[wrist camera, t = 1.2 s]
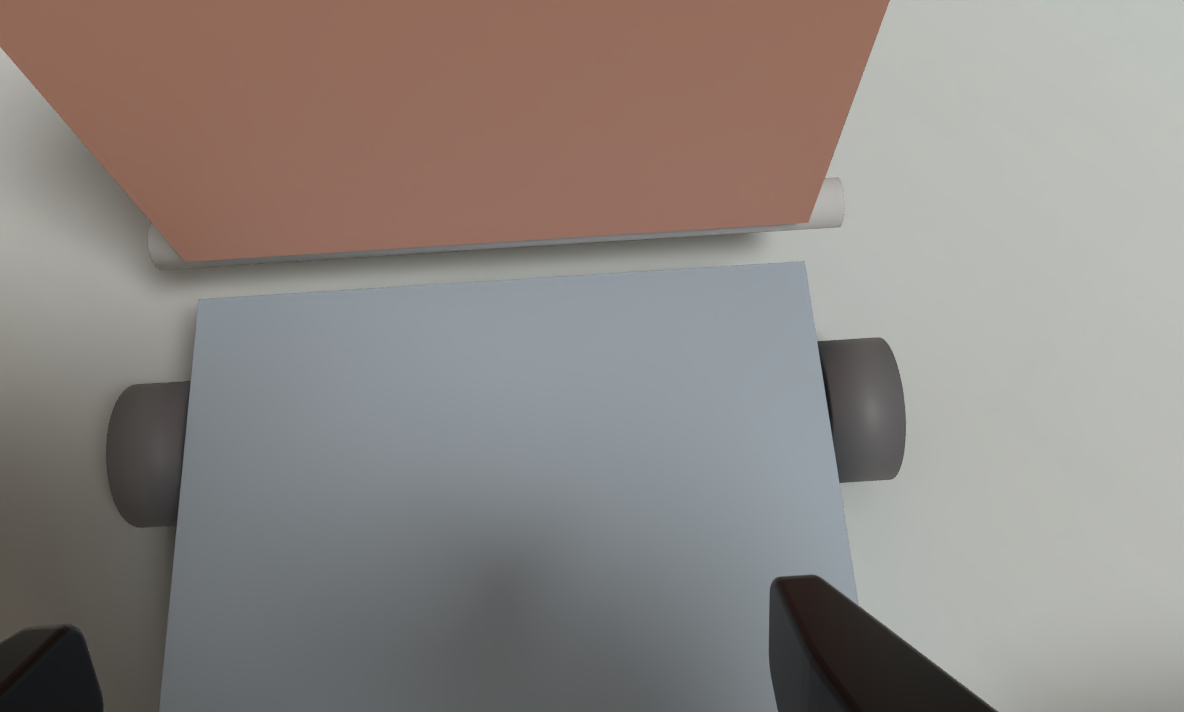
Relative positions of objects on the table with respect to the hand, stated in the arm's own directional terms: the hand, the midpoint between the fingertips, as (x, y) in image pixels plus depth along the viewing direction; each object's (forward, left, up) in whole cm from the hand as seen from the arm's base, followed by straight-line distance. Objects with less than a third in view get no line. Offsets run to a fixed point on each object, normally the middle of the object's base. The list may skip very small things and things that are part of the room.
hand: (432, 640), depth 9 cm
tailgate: (+8, 0, -7) cm, 10 cm away
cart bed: (0, 0, -9) cm, 10 cm away
